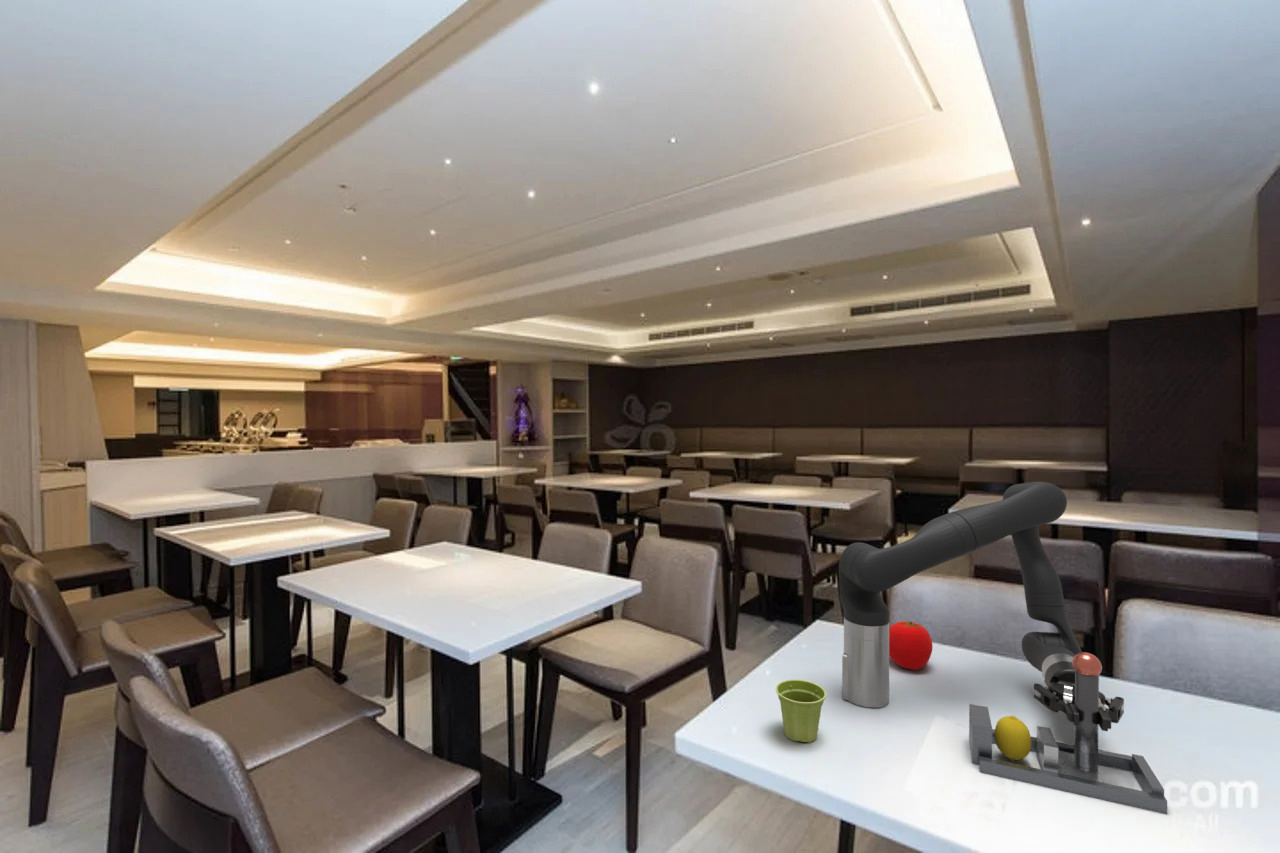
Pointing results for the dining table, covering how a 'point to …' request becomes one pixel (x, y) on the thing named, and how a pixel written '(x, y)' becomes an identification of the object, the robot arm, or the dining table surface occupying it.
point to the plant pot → (800, 708)
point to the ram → (1085, 733)
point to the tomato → (909, 645)
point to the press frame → (982, 755)
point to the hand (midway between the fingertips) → (1090, 722)
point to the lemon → (1012, 738)
